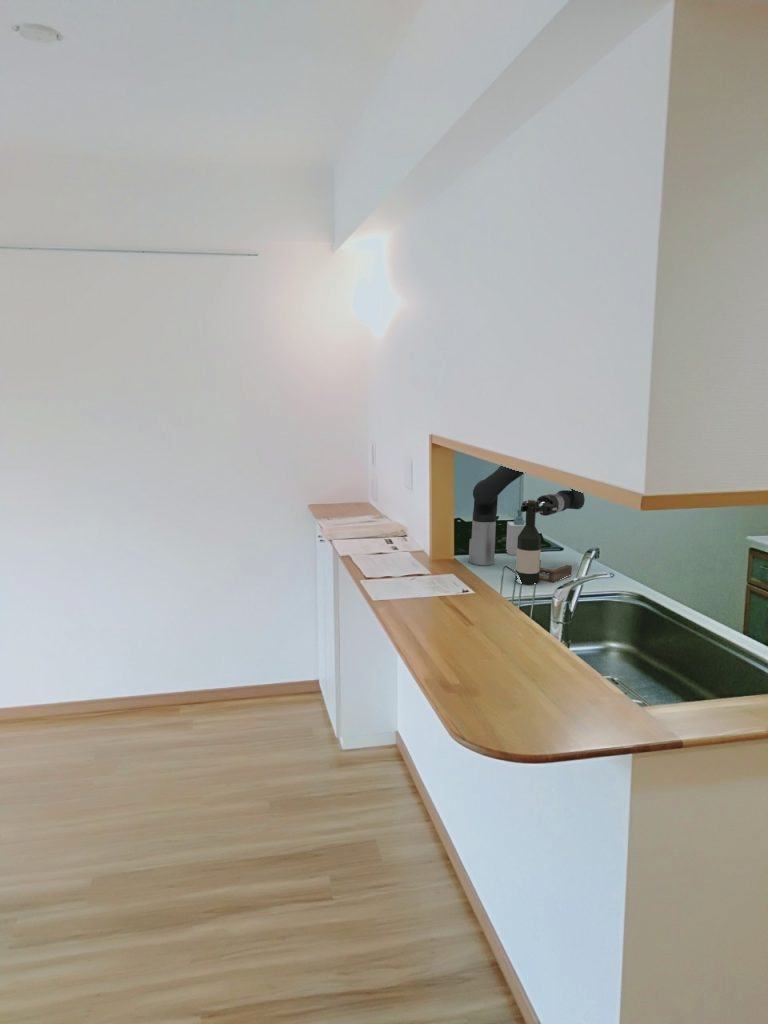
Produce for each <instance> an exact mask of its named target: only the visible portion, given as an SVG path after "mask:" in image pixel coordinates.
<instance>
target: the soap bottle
mask: <svg viewBox="0 0 768 1024" xmlns="http://www.w3.org/2000/svg"><path fill="white" fill-rule="evenodd" d="M514 510H515V511H517V512H516V513H517V516H515V519H513V521H511V520H509V521H507V522H506V543H505V545H506V546H505V551H506V550H507V551H506V553H507V555H508V556H517V543H518V536H519V534H520V533H521V531H522V530H523V528H524V527H525V523H526V521H525V520H524V517H523V516H522V513H523V512H521V508H514Z"/></svg>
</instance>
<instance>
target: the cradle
mask: <svg viewBox="0 0 768 1024" xmlns="http://www.w3.org/2000/svg"><path fill="white" fill-rule="evenodd" d="M541 562H542V560H541V559H540V569H539V573H542V572H545V573H544V574H547V573H549V574H548V576H546V575H540V574H539V581H543V582H548V583H552V584H555V583H556V581H557V582H559V581H558V580H560V579H562V578H564V577H566V576H569V575H571V576H572V571H573V570H572V569H573V568H572V567H573V566H572V565H571V564H565V565H562V566H559V567H556V568H554V569H549V568H545V567H541V565H542V564H541ZM562 580H563V579H562ZM560 581H561V580H560ZM554 582H555V583H554Z"/></svg>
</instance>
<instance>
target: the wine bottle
mask: <svg viewBox="0 0 768 1024" xmlns="http://www.w3.org/2000/svg"><path fill="white" fill-rule="evenodd" d="M535 501H536V500H534V499H528V500H527V504H526V512H525V522H526V523H525V527H524V528H523V530H522V531H521V533H520V534H519V536H518V543H517V555H516V564H515V565H516V567H515V573H516V572H517V573H518V575H519V577H520V580H521V582H522V584H521V585H523V586H524V585H525V586H533V585H534V583H536V585H537V584H539V582H540V580H539V575H540V572H539V569H540V568H541V566H540V560H541V550H542V548H541V547H542V546H541V545H542V536H541V535H540V533H539V530H538V529H537V526H536V516H537V515H536V514H537V513H531V507H534V506H536V503H535ZM517 579H518V578H517V576H516V575H515V581H516V580H517Z"/></svg>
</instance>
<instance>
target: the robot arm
mask: <svg viewBox="0 0 768 1024" xmlns="http://www.w3.org/2000/svg"><path fill="white" fill-rule="evenodd" d="M524 474H525V473H523V472H519V471H515V470H512V469H509V468H506V467H503V466H501V465H500V466H499V467H498V468H496V470H495V471H494V472H492V473H491V474H490V475H489V476H487V477H485V478H484V479H481V480H480V481H478V482H477V483H476V484H475V485H474V488H473V490H472V497H473V499H474V500H473V511H472V524H471V526H472V527H471V538H469V543H468V544H469V545H468V546H469V547H468V563H471V564H473V565H477V566H491V565H492V566H493V565H494V564H495V551H496V532H497V531H496V529H497V527H496V526H497V515H498V498H499V495H500V494H501V493H502V492H503V491H504V490H505V489H506V488H507V487H508V485H510V484H511V483H513V482H514V481H515V480H517V479H519V478H520V477H522V476H523V475H524ZM584 494H585V493H584V492H583V493H581V492H578V491H575V490H573V489H571V488H570V490H565V489H564V490H558V491H557V493H549V494H544V495H540V496H539V497H538V498H536V500H535V503H536V506H534V507H531V513H536V514H537V513H538V514H539V515H541V516H544V517H547V516H550V515H555V514H557V513H561V512H564V511H566V510H567V509H568V510H570V509H571V510H581V509H582V508H583V507H584V505H585V495H584ZM527 502H528V500H527V501H526V500H524V501H523V502H522V503H521V504H522V505H521V506H520V509H521V512H522V513H526V504H527Z"/></svg>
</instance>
